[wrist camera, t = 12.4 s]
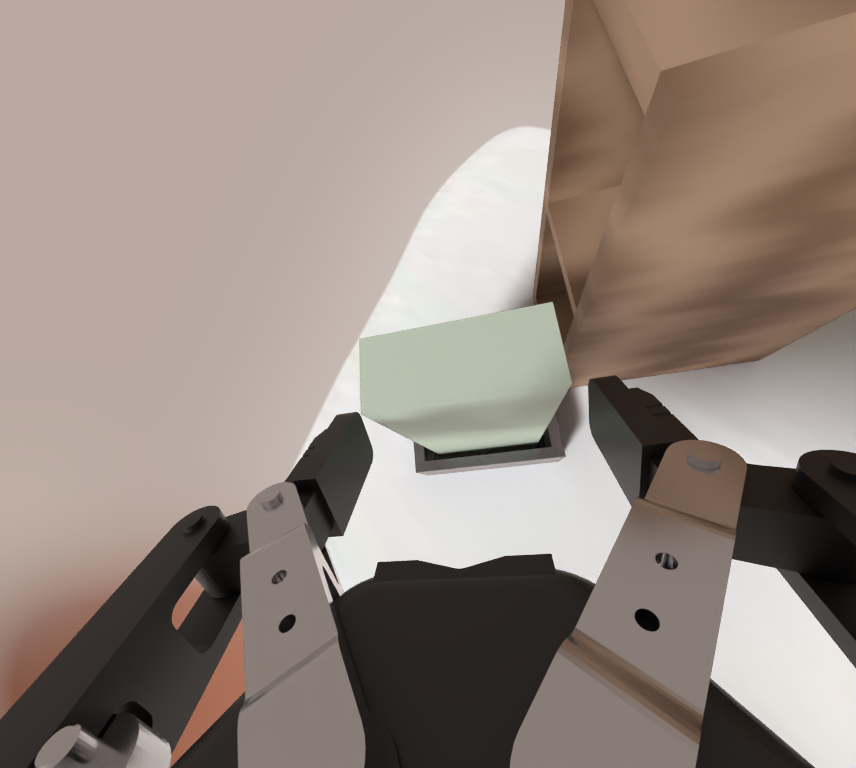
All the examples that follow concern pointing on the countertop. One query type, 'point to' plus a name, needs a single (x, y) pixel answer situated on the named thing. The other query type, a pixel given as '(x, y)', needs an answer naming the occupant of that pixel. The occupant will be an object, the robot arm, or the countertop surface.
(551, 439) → the dark grey rectangular frame
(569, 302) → the cabinet
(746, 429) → the countertop surface
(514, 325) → the sage green block
